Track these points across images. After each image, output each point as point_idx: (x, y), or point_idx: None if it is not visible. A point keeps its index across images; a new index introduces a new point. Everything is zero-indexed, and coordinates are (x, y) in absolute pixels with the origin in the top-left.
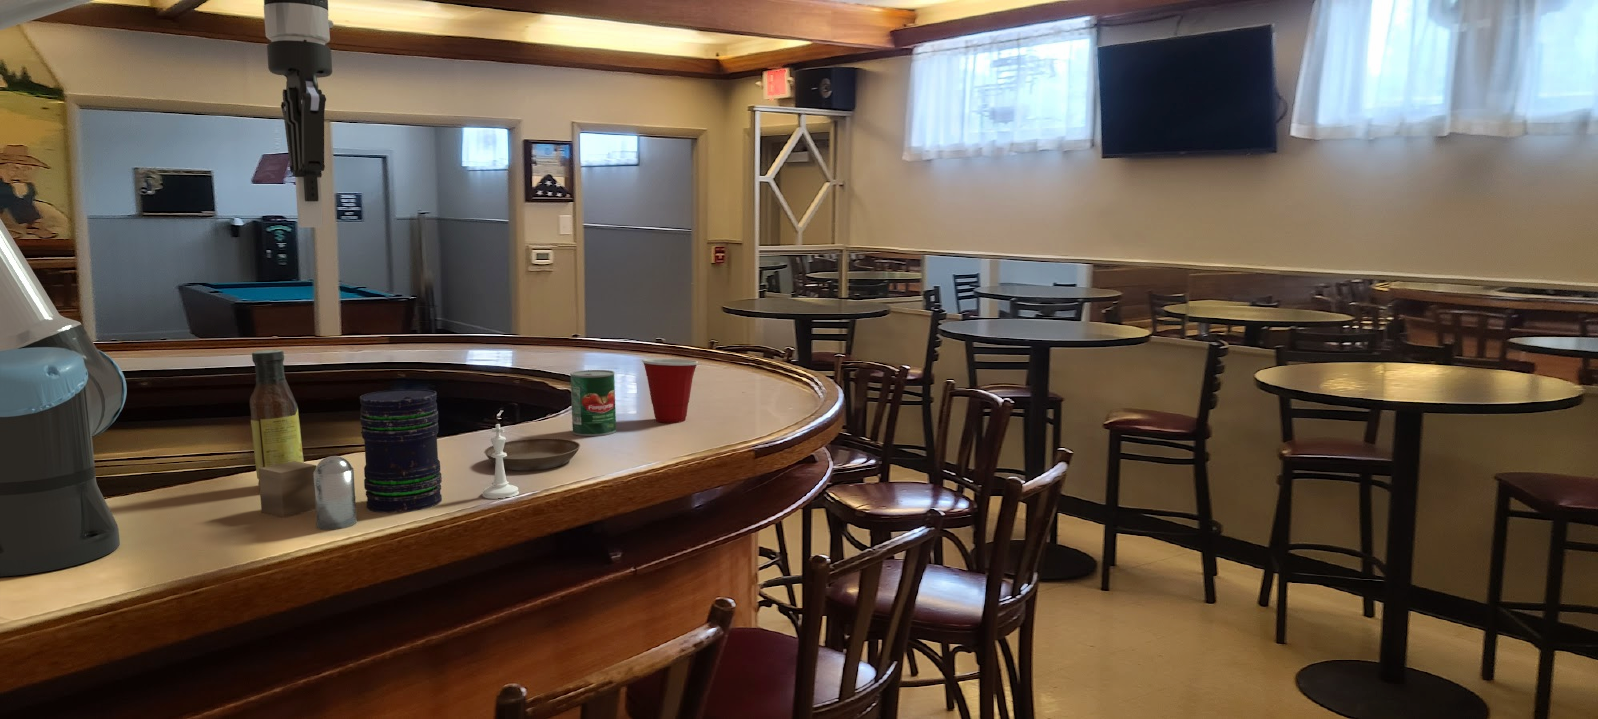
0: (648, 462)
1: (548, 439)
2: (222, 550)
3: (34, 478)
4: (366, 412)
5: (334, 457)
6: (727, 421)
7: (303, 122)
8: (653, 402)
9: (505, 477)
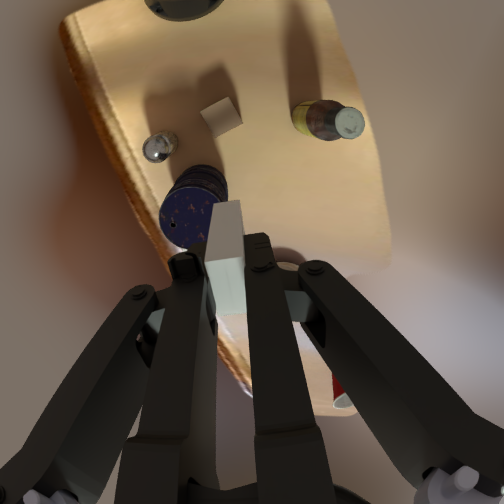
0: (235, 337)
1: None
2: (139, 78)
3: None
4: (177, 187)
5: (150, 152)
6: (315, 388)
7: (48, 417)
8: None
9: None
